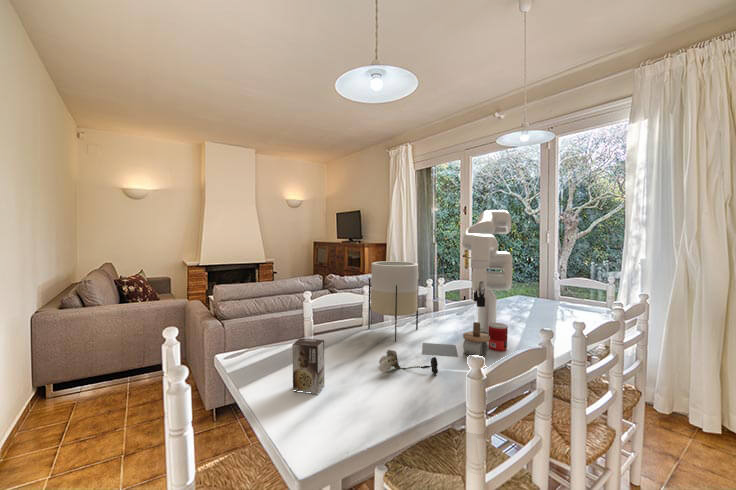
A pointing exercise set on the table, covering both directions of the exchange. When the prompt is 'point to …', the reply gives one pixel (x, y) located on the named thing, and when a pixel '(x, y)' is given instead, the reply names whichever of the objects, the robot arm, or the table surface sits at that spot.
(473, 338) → the lid
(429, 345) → the mat
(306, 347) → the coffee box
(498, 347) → the canned food
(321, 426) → the table surface
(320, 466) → the table surface
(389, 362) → the artificial flower
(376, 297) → the planter
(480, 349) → the ceramic mug
